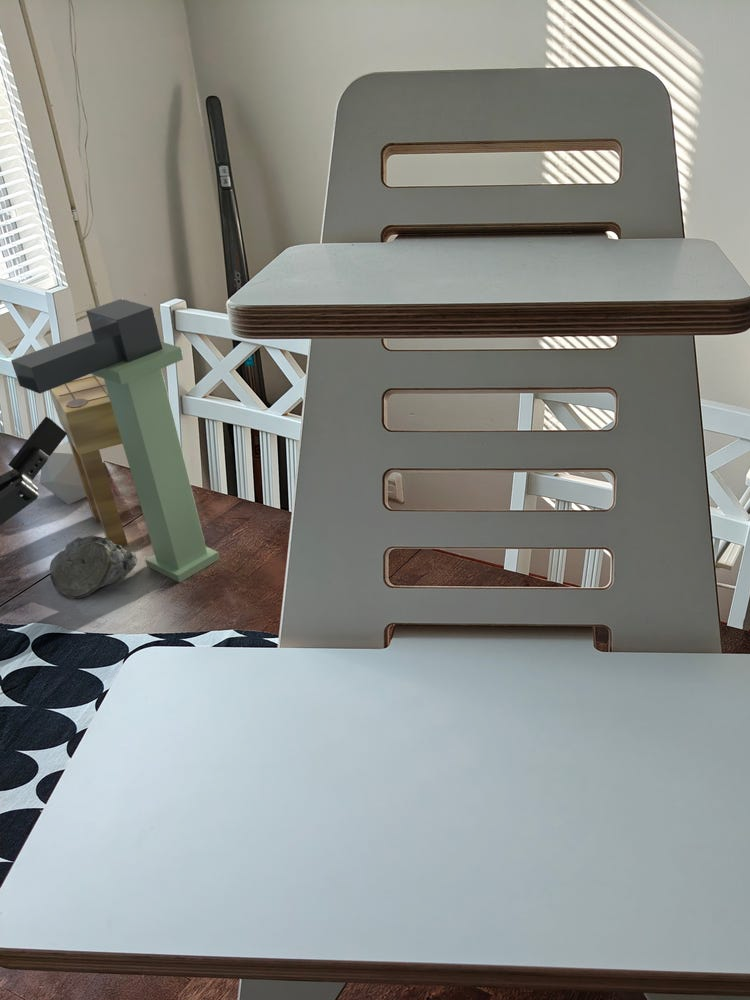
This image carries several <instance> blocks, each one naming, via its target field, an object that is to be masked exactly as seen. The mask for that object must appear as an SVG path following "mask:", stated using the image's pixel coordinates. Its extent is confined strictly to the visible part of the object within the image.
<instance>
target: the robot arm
mask: <svg viewBox="0 0 750 1000" xmlns="http://www.w3.org/2000/svg"><path fill="white" fill-rule="evenodd" d="M66 437H67V433H66V432H65V430H64V429H63V428H62V427H61V426H59V425H58V424H57V423H56V422H55V421H54V420H53V419H51V417H48V416H45V417H44V418H43V419H42V421H40V423H39V424H38V426H37V427H36V428H35V429H34V431H33V432H32V433H31V434H30V436H29V437H28V438H27V440H26V441H25V442H24V443H23V445H22V446H21V447H20V449H19V450H18V451H17V452H16V454H15V455H14V457H13V458H11V460H10V461H9V463H8V464H7V466H8V467H10V468H12V469H10V470H8V471H7V472H4V473H3V474H1V475H0V527H1V526H2V525H4V524H6V522H7V521H9V520H11V519H12V518H13V517H15V516H16V515H17V514H18V513H20V512H21V511H22V510H24V509H25V508H26V507H28V506H29V505H30V504H32V503H33V502H34V501H36V500H37V499H38V498H39V495H40V494H39V493H40V492H39V487H38V485H36V484H35V483H34V481H33V480H34V479H35V478H36V477H37V476H38V474H39V472H41V468H42V467H43V465H45V463H46V462H47V460H48V458H49V457H50V455H51V454H52V453H53V452H54V450H55V449H56V448H57V446H59V445H61V443H62V441H63V440H64V439H65V438H66Z"/></svg>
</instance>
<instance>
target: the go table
mask: <svg viewBox="0 0 750 1000" xmlns="http://www.w3.org/2000/svg"><path fill="white" fill-rule="evenodd" d="M48 391H49V394H50V396H51V399H52V402H53V406H54V409H55V411H56V415H57V418H58V422H59V424H60V425H61V428H62V429H63V430H64V431H65V432H66V433H67V435H66V437H67V442H69V444H70V447H71V450H72V453H73V456H74V459H75V462H76V465H77V469H78V472H79V475H80V478H81V481H82V484H83V487H84V490H85V493H86V496H87V497H86V499H87V502H88V506H89V509H90V511H91V514H92V518H93V519H94V521H95V523H100V524H101V528H102V530H103V531H102V532H103V533H104V536H105V537H104V538H105V539H108V540H110V541H112V543H113V544H117V545H121V547H124V546H128V545H129V543H128V540H127V537H126V533H125V530H124V527H123V524H122V523H123V522H122V520H121V517H120V513H119V510H118V507H117V504H116V501H115V497H114V493H113V491H112V487H111V484H110V480H109V478H108V475H107V471H106V469H105V465H104V460H103V458H102V454H101V452H100V450H103V449H107V448H111V447H115V446H118V445H123V443H122V440H121V436H120V433H119V429H118V426H117V422H116V419H115V415H114V412H113V409H112V405H111V402H110V398H109V395H108V391H107V388H106V384H105V381H104V379H103V378H101V377H98V376H95V375H92V374H88V375H86V376H83V377H81V378H78V379H76V380H73V381H71V382H68V383H66V384H63V385H61V386H58V387H56V388H53V389H51V390H48ZM102 460H103V461H102Z"/></svg>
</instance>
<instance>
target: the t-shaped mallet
mask: <svg viewBox="0 0 750 1000" xmlns="http://www.w3.org/2000/svg"><path fill="white" fill-rule="evenodd" d="M85 313H86V316H87V319H88V323H89V327H90V331H88V332H85V333H82V334H80V335H76V336H73V337H70V338H67V339H66V340H63V341H60V342H57V343H55V344H52V345H49V346H46V347H44V348H42V349H38V350H35V351H32V352H30V353H28V354H25V355H22V356H19V357H16V358H13V359H11V360H10V362H11V364H12V367H13V371H14V373H15V377H16V379H17V381H18V384H19V387H21V388H24V389H27V390H29V391H32V392H34V393H37V394H43V393H45V392H48V391H49V390H51V389H53V388H56V387H58V386H61V385H63V384H66V383H68V382H71V381H73V380H76V379H78V378H81V377H83V376H86V375H88V374H91V373H94V372H96V371H99V370H101V369H104V368H106V367H109V366H111V365H114V364H116V363H119V362H121V361H125V362H131V361H133V360H136V359H138V358H141V357H143V356H146V355H148V354H151V353H153V352H156V351H158V350H161V349H162V344H161V342H162V340H161V337H160V332H159V328H158V324H157V320H156V316H155V313H154V307H152V306H149V305H145V304H141V303H139V302H135V301H131V300H128V299H124V298H119V299H117V300H113V301H110V302H108V303H104V304H102V305H99V306H97V307H94V308H91V309H88V310H86V311H85Z"/></svg>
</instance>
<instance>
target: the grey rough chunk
mask: <svg viewBox="0 0 750 1000" xmlns="http://www.w3.org/2000/svg"><path fill="white" fill-rule="evenodd" d="M137 564H138V556H137V554H136V553H135V552H134V551H129V550H127V549H124V548H123V546H121V545H117V544H113V543H112V541H110V540H108V539H106V537H102V536H96V535H87V536H84V537H80V536H78V537H76V538H75V539H73V540H71V541H70V542H68V543H67V544H66V545H65V548H64V549H63V550H60V551H59V552H58V553H57V554H56V555H55V556H54V557H53V559H51V561H50V564H49V575H50V579H51V582H52V584H53V586H54V587H55V589H56V590H57V591H58V592H59V593H60V594H62V595H64V596H65V597H68V598H72V599H82V598H85V597H88V596H89V595H91V594H93V593H94V592H95V591H97V590H98V589H99V588H103V587H105V586H109V585H111V584H113V583H116V582H117V581H119V580H121V579H123V577H125V576H126V575H128V574H129V573H130V572H131V571H132V570H133V569H134V568H135V567H136V566H137Z"/></svg>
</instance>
